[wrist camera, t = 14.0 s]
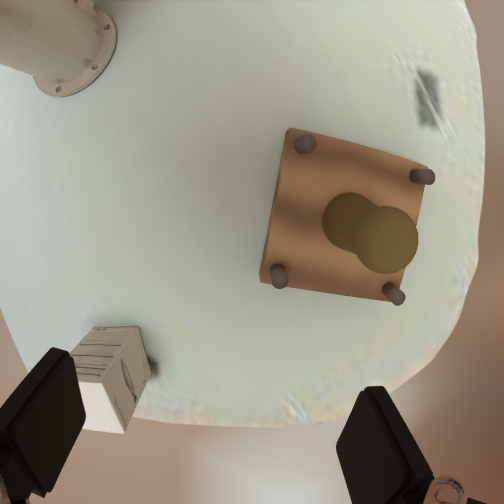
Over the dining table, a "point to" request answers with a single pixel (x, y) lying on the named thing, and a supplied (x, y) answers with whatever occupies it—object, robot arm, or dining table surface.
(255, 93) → the dining table surface
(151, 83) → the dining table surface
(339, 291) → the shelf board
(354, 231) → the brown rounded piece
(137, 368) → the supplement box
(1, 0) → the robot arm
